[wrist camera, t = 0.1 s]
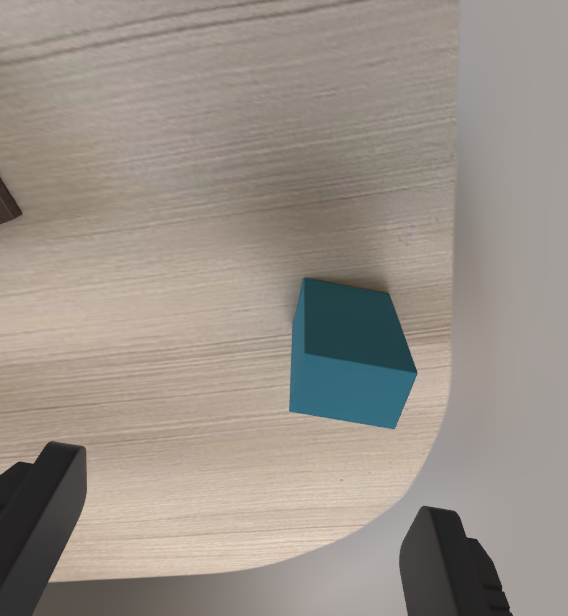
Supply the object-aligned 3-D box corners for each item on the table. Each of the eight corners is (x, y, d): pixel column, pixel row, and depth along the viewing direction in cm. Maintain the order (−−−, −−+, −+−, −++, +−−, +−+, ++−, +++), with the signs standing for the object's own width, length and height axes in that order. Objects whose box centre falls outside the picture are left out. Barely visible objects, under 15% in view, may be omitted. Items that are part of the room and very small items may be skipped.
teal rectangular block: (303, 277, 31) (304, 352, 23) (389, 293, 32) (418, 373, 24) (292, 326, 33) (289, 411, 25) (373, 341, 34) (394, 429, 26)
